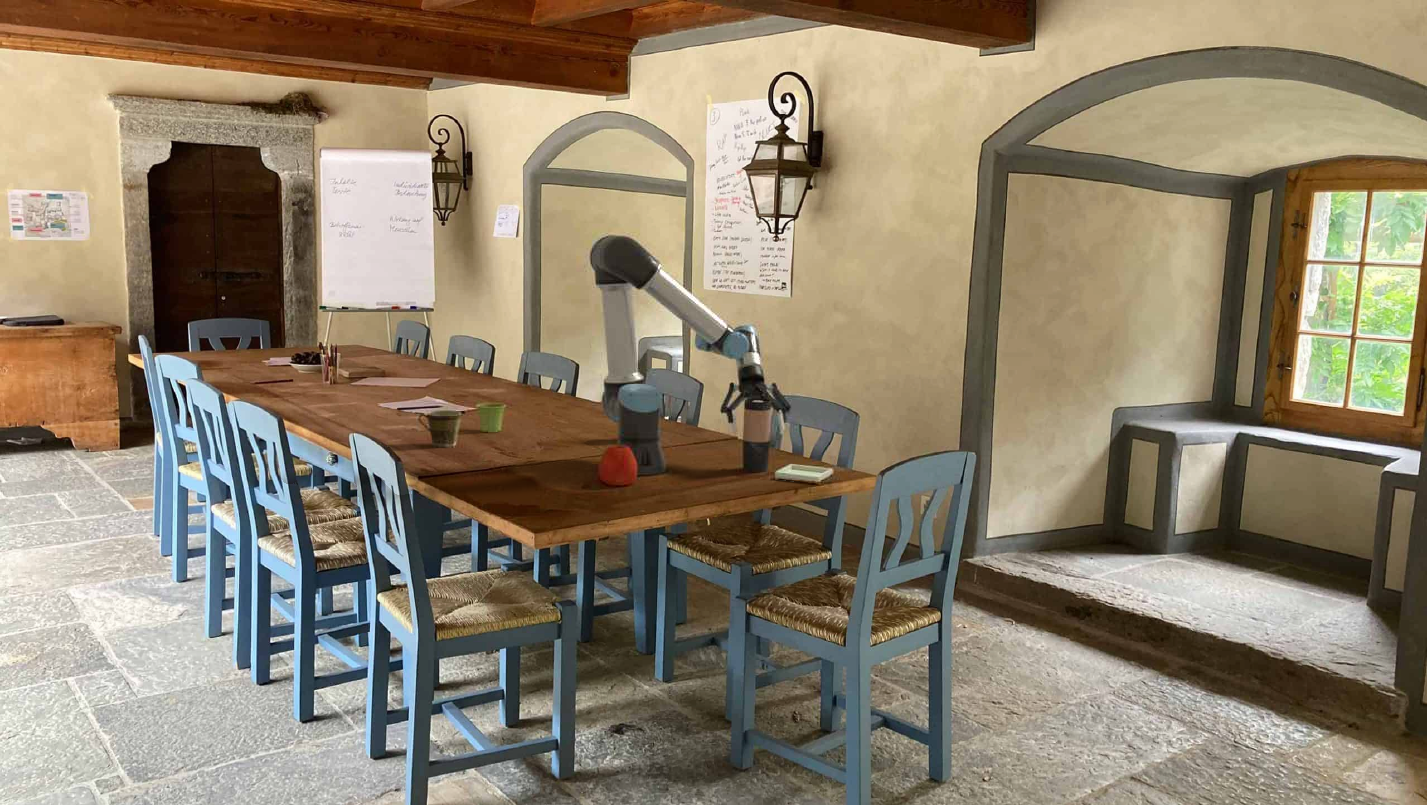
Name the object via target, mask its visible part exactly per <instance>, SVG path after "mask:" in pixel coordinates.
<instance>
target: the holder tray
mask: <svg viewBox="0 0 1427 805" xmlns="http://www.w3.org/2000/svg"><path fill="white" fill-rule="evenodd" d="M831 474H833V475H834V468H830V467H829V468H828V467H820V466H811V465H802V464H795V463H794V464H793V463H790V464H788V465H786V466H784V467H782V468H780V469H778V470H776V471H775V472H774V479H775V478H781V479H792V480H804V481H815V482H820V481H821V480H823V479H825V478H827V477H829V476H830V475H831Z"/></svg>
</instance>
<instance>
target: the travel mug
mask: <svg viewBox="0 0 1427 805" xmlns="http://www.w3.org/2000/svg"><path fill="white" fill-rule="evenodd" d="M743 402H744V403H743V405H744V406H743V428H742V430H743V431H742V439H743V440H742V470H743V469H744V470H743V471H745V470H747V471H746V472H748V471H752V472H751V473H762V472H761V471H765V472H767V471H766V470H768V471H769V461H770V459H769V458H770V446H771V445H770V444H771V422H772V421H771V420H772V419H771V415H772V414H771V413H772V407H771V400H769V399H763V398H748V399H747V398H745V399H744V401H743Z"/></svg>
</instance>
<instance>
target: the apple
mask: <svg viewBox="0 0 1427 805" xmlns="http://www.w3.org/2000/svg"><path fill="white" fill-rule="evenodd" d="M637 468H638V467H637V462H636V459H635V457H634V454H633V452H632V451H631V449H630V448H629V447H627V446H626V445H617V444H616V445H610V446H608V447H607V448H606V449H605V450H604V452H603V454H602V455H601V459H600V461H599V464H598V474H599V477H600V479H601V481H603V483H605V484H606V485H608V486H614V487H621V486H622V487H623V486H624V487H625V486H629V485H632V484H633V483H635V481H636V479H637V477H638V475H637Z"/></svg>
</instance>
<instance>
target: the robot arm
mask: <svg viewBox="0 0 1427 805" xmlns="http://www.w3.org/2000/svg"><path fill="white" fill-rule="evenodd" d="M589 263H590V266H591V268H592V269H593V271H594V281H595V286H596V287H597V288H598V289H599V290H600V291H601V300H602V301H601V302H602V311H603V312H602V313H603V324H604V325H603V326H604V335H605V337H604V338H605V350H606V361H607V362H606V363H607V375H606V376H605V377H604V379H603V388H604V390H603V392H602V395H601V406H602V407H601V408H602V410H603V412H604V413H605V415H606V416H607V418H608V419H609V420H611V421H612V422H614V423H616V424H617V444H616V445H626V446H627V447H629V448H630V449H631V451H632V452H633V454H634V457H635V459H636V462H637V467H638V468H637V476H653V475H658V474H662V473H665V472H666V465H667V464H666V460H665V457H664V452H663V450H662V446H661V442H660V441H661V408H662V398H661V391H660V390H659V389H658V388H656V386H655V387H654V386H652V385H648V384H645V377H644V375H643V374H641V373H640V372H639V366H638V365H639V364H638V353H637V340H636V339H637V338H636V337H637V336H636V326H635V314H634V313H635V312H634V298H633V287H634V288H635V289H636V290H637V291H641V290H642V291H644V292H646V293H647V294H648V295H649V296H651V297H652V298H654V300H655V301H656V302H658V303H659V304H660V305H662V306H663V307H664V308H665V309H667V310H668V311H669V312H670V313H672V314H673V315H674V316H675V317H677V318H678V319H679V320H680V321H682V322H683V323H684V324H685V325H686V326H687V327H689V328H691V329H692V330H693V331H694V332H695V336H694V345H695V348H696V350H698V351H703V352H705V353H708V352H709V353H713V354H715V355H716V354H717V355H719V356H723V357H726V358H727V359H730V360H735V364H736V370H737V378H738V384H735V383H734V382H730V383H729V386H728V391H727V394H726V396H725V398H724V399H723V402H722V404H721V407H720V411H719V412H720V413H721V414H726V417H727V422H728V424H731V426H732V428H731V429H732V435H737V431H738V425H737V416H736V409H737V408H738V407H739V406H740V405H741V403H742V402H744V400H745V399H748V398H763V399H769V400H771V409H773V410H774V411H776V412H777V421H778V426H779V434H780V435H784V433H785V429H786V427H785V424H786V422H787V415H786V414H790V412H791V408H792V406H791V404H790V403H789V402H788V400H787V399H786V398H785V396H784V395H783V394H782V392H781V391H780V390H779V388H778V386H777V383H776V382H772V384H766V380H765V374H764V367H763V362H762V356H761V347H760V339H759V336H758V333H757V332H758V331H757V329H755V327H753V326H752V325H749V324H744V325H742V324H741V325H738V326H736V327H735V328H733V327H732V326H730V324H728V323H727V322H726V321H724V319H722V318H721V317H720V316H718V314H716V313H715V312H714V311H713V310H711V309H710V308H709V307H708V306H707V305H706V304H704V303H703V302H702V301H701V300H700V299H699V298H697V297H696V296H695V295H694V294H692V293H691V292H690V291H689V290H688V289H687V288H685V287H684V286H683V285H682V284H680V283H679V282H678V281H677V280H676V279H675V278H674V277H673V276H671V275H670V274H669V273H668V272H666V271H665V270H664V269H663V268H662V265H661V262H660V261H659V260H658V259H656V258H655V257H654V256H653V255H652V254H651V253H650V252H649V251H648V250H647V249H646V248H644V247H643V246H642V244H640V243H639V242H638V241H637V240H635V239H634V238H632V237H631V236H625V235H616V234H614V235H613V234H611V235H606V236H603V237H600V238H599V239H598V240H596V241H595V242H594V243H593V245H592V246H591V249H590V252H589ZM737 391H738V392H739V393H740V394H739V395H738V396H737V397H736V398H735V399H734V400H733V402H732V403H731V404H730V405H729V403H730V401H731V399H732V397H733V394H734V393H736V392H737ZM770 394H772V395H770ZM728 405H729V406H728Z"/></svg>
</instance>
